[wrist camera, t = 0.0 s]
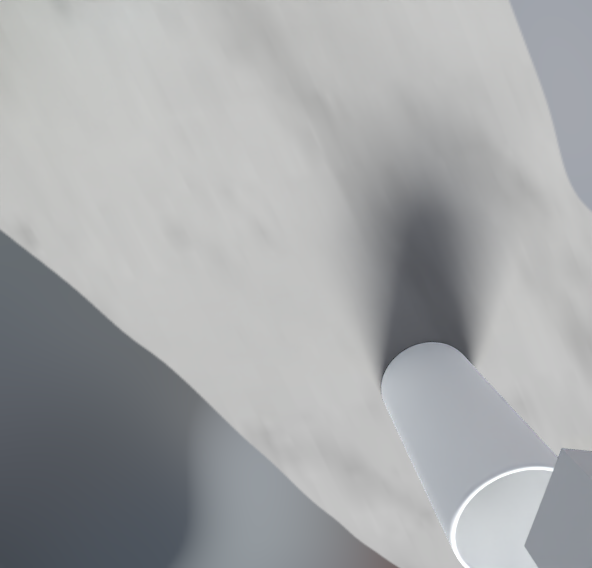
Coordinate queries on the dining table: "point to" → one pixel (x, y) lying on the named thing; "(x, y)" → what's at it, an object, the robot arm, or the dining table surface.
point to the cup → (468, 454)
